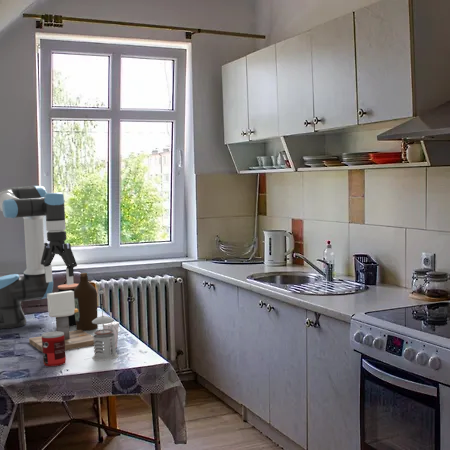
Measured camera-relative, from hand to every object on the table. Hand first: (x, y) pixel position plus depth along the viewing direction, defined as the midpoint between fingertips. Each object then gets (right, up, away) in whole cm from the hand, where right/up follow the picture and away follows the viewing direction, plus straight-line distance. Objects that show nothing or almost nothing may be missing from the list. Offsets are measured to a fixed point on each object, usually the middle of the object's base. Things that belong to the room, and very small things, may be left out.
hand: (59, 283), depth 264 cm
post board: (+1, -25, +2) cm, 25 cm away
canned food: (+5, -27, -28) cm, 39 cm away
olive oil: (+5, -23, +27) cm, 36 cm away
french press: (+23, -26, -23) cm, 41 cm away
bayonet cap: (+1, -13, +1) cm, 13 cm away
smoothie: (+23, -25, -9) cm, 35 cm away
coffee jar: (-4, -23, +39) cm, 45 cm away
